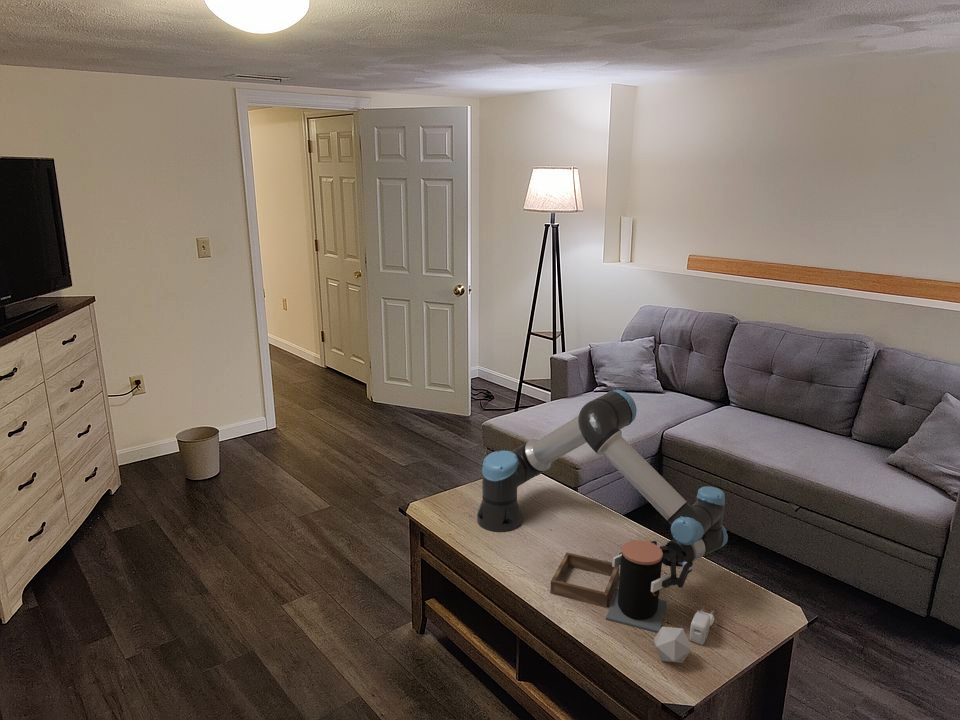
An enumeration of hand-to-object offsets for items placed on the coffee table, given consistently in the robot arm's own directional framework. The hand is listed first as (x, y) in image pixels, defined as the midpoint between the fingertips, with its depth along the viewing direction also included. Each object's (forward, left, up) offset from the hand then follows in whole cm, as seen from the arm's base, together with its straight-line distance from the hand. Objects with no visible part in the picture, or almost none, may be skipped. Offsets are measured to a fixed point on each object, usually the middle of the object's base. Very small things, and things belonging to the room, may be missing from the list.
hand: (632, 574), depth 179 cm
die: (+12, +13, -13) cm, 22 cm away
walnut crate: (-9, -14, -12) cm, 21 cm away
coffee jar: (-3, +2, -12) cm, 13 cm away
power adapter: (-1, +19, -13) cm, 23 cm away
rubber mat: (-3, +2, -12) cm, 13 cm away
